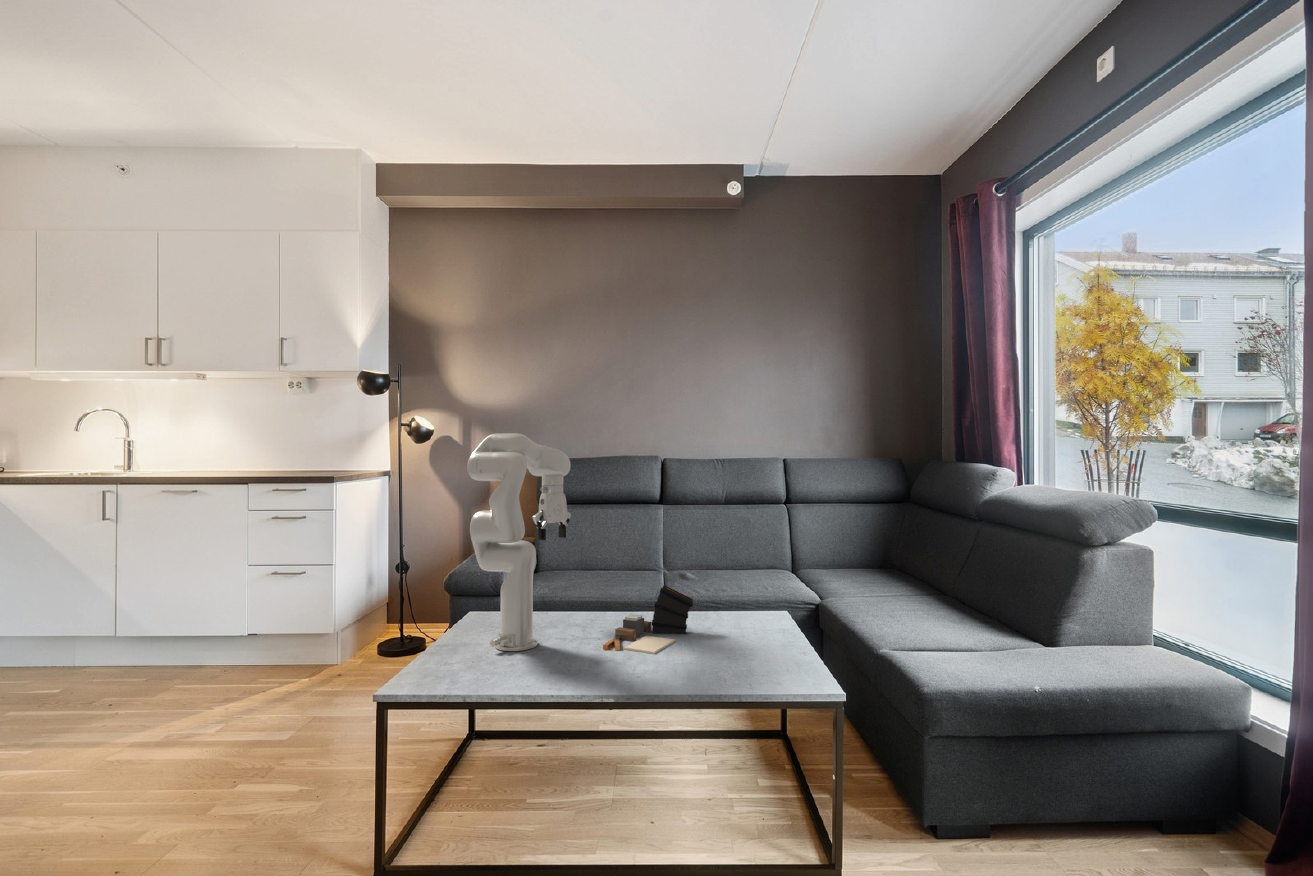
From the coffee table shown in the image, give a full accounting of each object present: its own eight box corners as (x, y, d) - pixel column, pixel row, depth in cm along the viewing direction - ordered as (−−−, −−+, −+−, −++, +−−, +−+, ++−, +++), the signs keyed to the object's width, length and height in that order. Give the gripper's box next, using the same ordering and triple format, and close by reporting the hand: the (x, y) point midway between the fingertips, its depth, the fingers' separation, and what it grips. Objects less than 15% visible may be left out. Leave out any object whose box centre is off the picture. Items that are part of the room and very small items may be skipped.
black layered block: (643, 625, 212) (662, 584, 212) (679, 643, 211) (699, 602, 211) (642, 628, 208) (662, 586, 208) (679, 646, 208) (699, 604, 208)
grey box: (636, 638, 204) (636, 618, 204) (622, 636, 206) (622, 617, 206) (644, 634, 208) (644, 615, 208) (630, 632, 210) (630, 613, 211)
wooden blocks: (632, 641, 200) (632, 631, 200) (615, 638, 203) (615, 629, 203) (651, 631, 212) (651, 621, 212) (635, 628, 214) (635, 619, 214)
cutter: (619, 650, 191) (619, 645, 191) (602, 650, 191) (602, 645, 191) (625, 639, 202) (625, 635, 202) (609, 639, 202) (609, 634, 202)
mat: (654, 654, 187) (654, 652, 187) (624, 649, 191) (624, 647, 191) (674, 641, 199) (674, 639, 199) (646, 637, 204) (646, 635, 204)
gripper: (541, 491, 220) (541, 541, 220) (577, 489, 234) (577, 537, 233) (526, 490, 225) (526, 540, 224) (562, 489, 239) (562, 535, 238)
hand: (552, 538), depth 229 cm, fingers open, 9 cm apart
